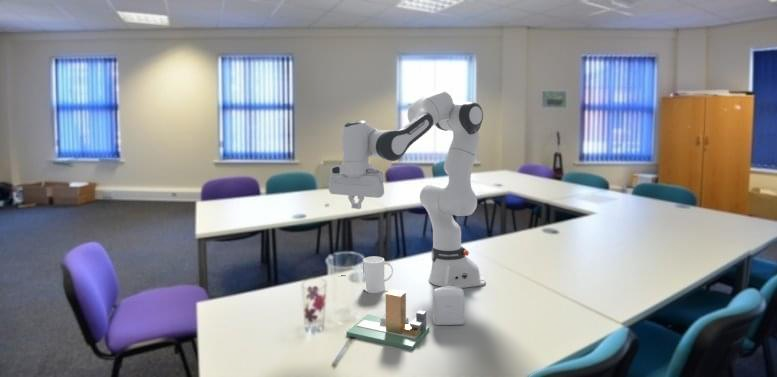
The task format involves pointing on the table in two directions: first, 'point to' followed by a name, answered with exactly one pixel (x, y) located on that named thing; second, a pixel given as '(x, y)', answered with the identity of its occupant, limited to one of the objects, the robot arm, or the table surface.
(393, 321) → the tall wooden block
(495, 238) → the table surface
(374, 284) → the mug
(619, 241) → the table surface
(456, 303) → the photo printer
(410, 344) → the board
